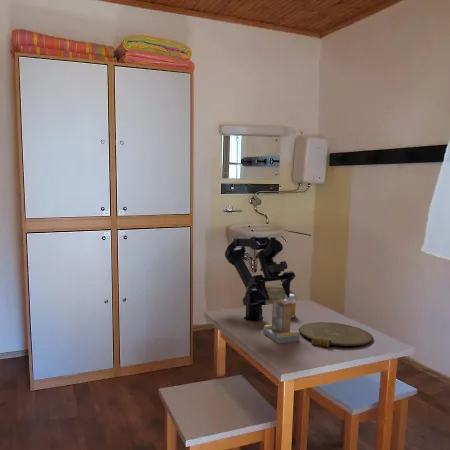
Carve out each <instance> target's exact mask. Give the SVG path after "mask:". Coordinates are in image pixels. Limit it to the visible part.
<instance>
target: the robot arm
mask: <svg viewBox="0 0 450 450" xmlns="http://www.w3.org/2000/svg"><path fill="white" fill-rule="evenodd" d="M246 247H247V248H248V247H249V248H250V250H251V249H252V250H254V251H257V252H256V255H255V259H258V261H259V265H260V267H261V268H260V269H259V270H260V272H262V273H263V274H257V275H256V274H255V275H252V273H251V272H250V269H249V268H248V267H249V266H248V265H247V264H246V262H245V253H246V251H247V250H246ZM283 247H284V246H283V244H282V243H281V242H280V241H279V239H276V237H271V238H269V236H268V235H261V236H260V235H259V236H258V235H257V236H252V237H239V236H238V237H235V238H234V239H233V241H232V242H231V243H230V244H229V245H228V246H227V247H226V249H225V251H224V257H225V258H226V260H227V262H228V263H229V264H231V265H232V266H234V268H235V269H236V272H237V274H238V275H239V277H240V279H241V281H242V283H243V285H244V287H245V294H244V295H245V296H244V297H243V298H242V304H243V306H245V316H244V317H243V319H246V320H250V321H253V322H258V321H260V320H262V319H264V316H263V306H265V305H266V302H267V301H270V297H269V294H268V290H267V287H266V283H267V282H277V281H280V282H281V287H282V289H283V291H284V293H285V296H287V297H288V298H289V297H290V294H291V292H290V291H291V288H290V287H291V282H293V280H294V278H296V277H297V276H296V273H295V272H294V271H293V270H292V271H291V270H290V271H285V270H287V269H288V263H287V261H286V260H284V261H283V260H282V261H280V262H279V263H277V262H276V261H274V258H276V257H277V255H279V254H280V253H281V252H282V251H283V249H284V248H283ZM282 272H283V273H282ZM281 273H282V275H281Z"/></svg>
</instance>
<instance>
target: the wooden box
mask: <svg viewBox="0 0 450 450" xmlns="http://www.w3.org/2000/svg"><path fill="white" fill-rule="evenodd" d="M271 310H272V315H271V325H272V331H274V332H277V333H288V332H290V330H291V321H292V320H291V319H292V317H291V302H288V301H285V300H284V299H281V298H278V299H274V300H272V309H271Z"/></svg>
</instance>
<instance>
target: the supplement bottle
mask: <svg viewBox="0 0 450 450" xmlns="http://www.w3.org/2000/svg"><path fill="white" fill-rule="evenodd" d="M284 296H285V298H284V299H283V300H285V301H288V302H291V318H295V316H296V305H297V301H296V298H295V294H294V293H290V297H289V298H288V297H287V296H286V295H284Z"/></svg>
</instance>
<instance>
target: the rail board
mask: <svg viewBox="0 0 450 450" xmlns="http://www.w3.org/2000/svg"><path fill="white" fill-rule="evenodd" d="M262 333H263V334H265V335H266V336H267V337H269V338H270V339H272V340H273V342H276V343H277V344H285V343H293V342H299V341H300V331H299V330H297V331H293V330H291V329H290V332H288V333H277V332H274V331H272V324H266V325H265V324H264V326H263V332H262Z"/></svg>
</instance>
